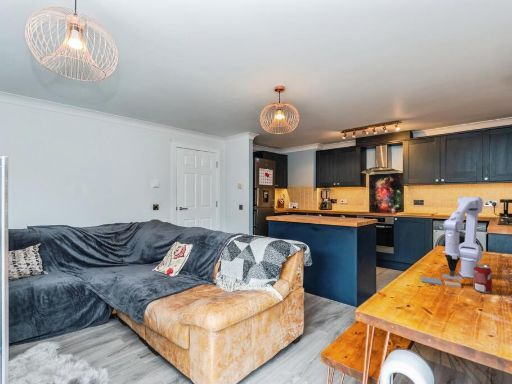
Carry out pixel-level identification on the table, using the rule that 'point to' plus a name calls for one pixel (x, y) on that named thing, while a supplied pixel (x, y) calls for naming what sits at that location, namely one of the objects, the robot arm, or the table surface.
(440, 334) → the table surface
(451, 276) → the grey bar
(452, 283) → the tile
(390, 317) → the table surface
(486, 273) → the soda can
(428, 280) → the mat
